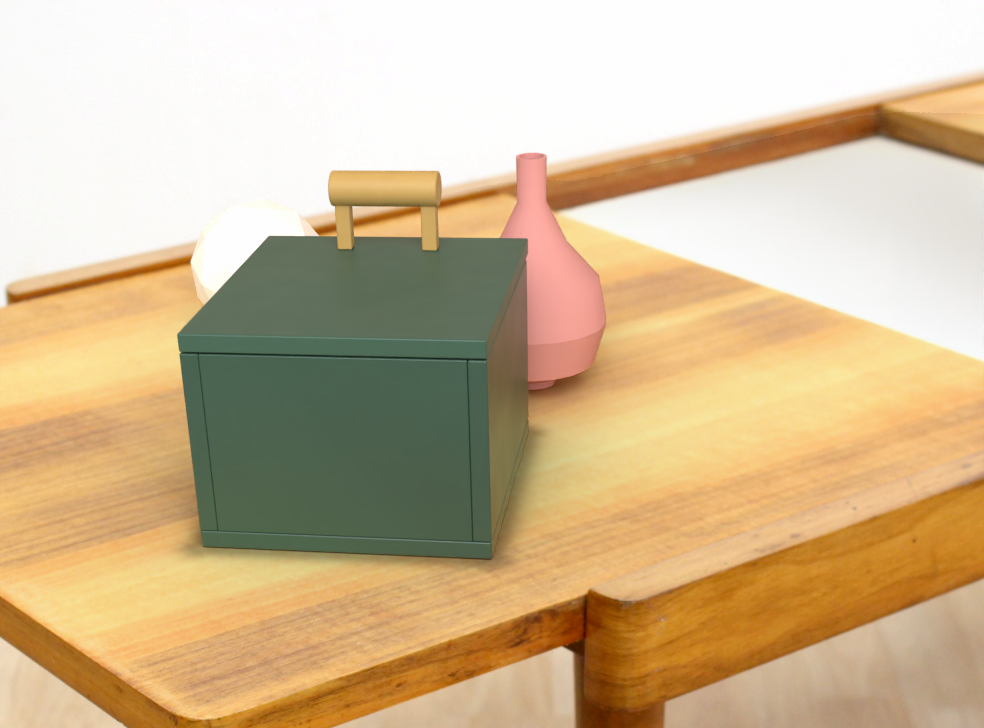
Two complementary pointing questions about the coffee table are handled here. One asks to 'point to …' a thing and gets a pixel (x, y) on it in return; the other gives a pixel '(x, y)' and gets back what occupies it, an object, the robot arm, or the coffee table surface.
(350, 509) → the bin
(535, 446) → the coffee table surface
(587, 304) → the pink vase
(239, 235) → the geometric ball
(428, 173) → the bread bin lid
